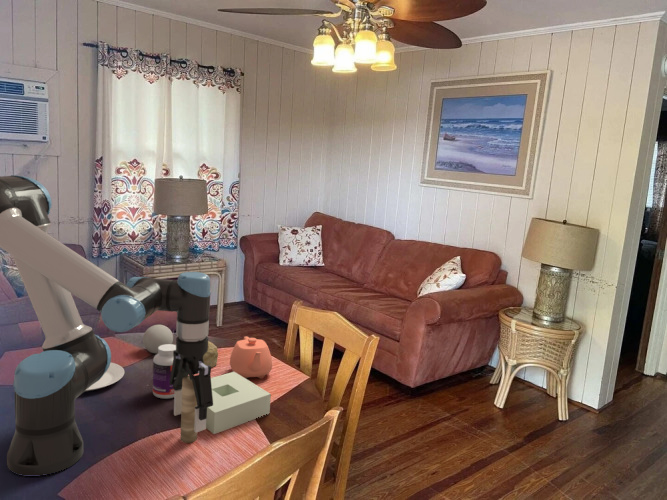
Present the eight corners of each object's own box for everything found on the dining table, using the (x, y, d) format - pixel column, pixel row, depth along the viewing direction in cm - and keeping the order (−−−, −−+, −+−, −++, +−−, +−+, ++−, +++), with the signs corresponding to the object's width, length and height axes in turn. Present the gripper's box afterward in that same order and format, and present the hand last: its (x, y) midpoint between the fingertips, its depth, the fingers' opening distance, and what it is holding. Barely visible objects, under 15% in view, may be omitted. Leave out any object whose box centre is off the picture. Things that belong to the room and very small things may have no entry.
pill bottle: (172, 402, 146) (174, 354, 144) (146, 397, 148) (147, 350, 145) (186, 390, 154) (187, 344, 151) (161, 385, 155) (162, 340, 153)
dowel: (185, 444, 126) (187, 383, 123) (177, 437, 129) (179, 378, 126) (200, 439, 129) (202, 379, 126) (191, 432, 132) (194, 374, 129)
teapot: (236, 390, 157) (238, 352, 155) (225, 364, 175) (226, 330, 173) (278, 386, 162) (281, 349, 160) (263, 361, 180) (265, 328, 178)
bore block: (213, 434, 132) (214, 412, 131) (179, 406, 144) (179, 386, 143) (269, 413, 144) (270, 393, 143) (233, 390, 157) (234, 371, 156)
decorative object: (218, 376, 173) (228, 348, 177) (200, 368, 165) (211, 338, 169) (197, 371, 178) (207, 344, 181) (179, 363, 170) (190, 334, 173)
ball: (178, 353, 181) (179, 326, 179) (153, 360, 173) (153, 332, 171) (162, 345, 187) (162, 318, 185) (136, 351, 179) (137, 324, 177)
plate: (44, 401, 141) (44, 394, 141) (50, 370, 160) (50, 363, 159) (125, 393, 150) (125, 385, 149) (122, 364, 168) (123, 358, 168)
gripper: (231, 347, 119) (227, 435, 123) (183, 321, 134) (181, 400, 138) (202, 354, 114) (199, 446, 118) (156, 326, 129) (154, 408, 133)
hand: (189, 421), depth 128 cm, fingers open, 9 cm apart
